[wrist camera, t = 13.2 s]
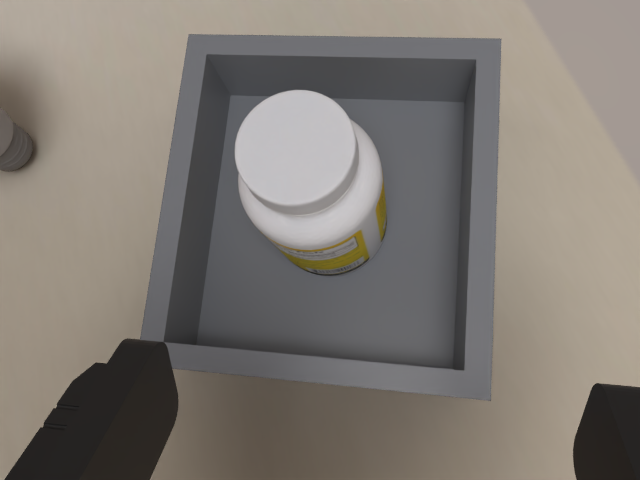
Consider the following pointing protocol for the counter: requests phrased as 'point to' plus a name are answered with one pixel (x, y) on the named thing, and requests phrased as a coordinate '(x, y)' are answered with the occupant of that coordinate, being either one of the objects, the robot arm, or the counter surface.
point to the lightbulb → (13, 144)
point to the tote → (401, 232)
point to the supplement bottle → (312, 182)
